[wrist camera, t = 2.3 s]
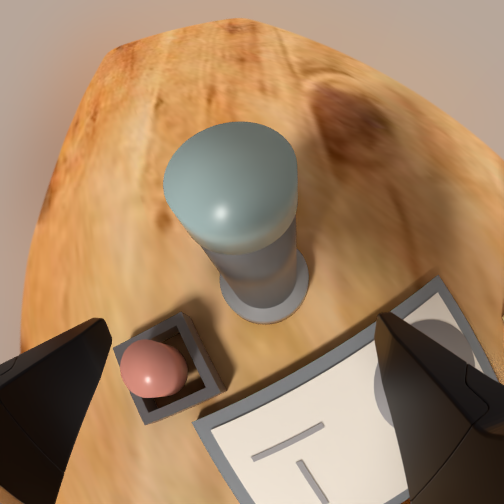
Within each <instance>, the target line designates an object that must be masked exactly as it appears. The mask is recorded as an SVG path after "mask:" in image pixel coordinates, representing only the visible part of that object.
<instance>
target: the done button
mask: <svg viewBox="0 0 504 504" xmlns="http://www.w3.org/2000/svg"><path fill="white" fill-rule="evenodd" d="M120 371H121V376H122V379H123V381H124V383H125V385H126V386H127V388H128V389H129V390H130V391H131V392H132V393H134V394H135V395H137V396H140V397H143V398H154V397H164V396H170V395H173V394H175V393H177V392H179V391H180V390H181V389H182V388H183V386H184V385H185V383H186V380H187V376H188V367H187V363H186V360H185V358H184V356H183V355H182V354H181V353H180V351H178V350H177V349H176V348H174V347H172V346H170V345H166V344H163V343H159V342H156V341H152V340H147V339H143V340H138V341H136V342H134V343H132V344H131V345H130V346H128V348H127V349H126V350H125V352H124V353H123V356H122V359H121V364H120Z"/></svg>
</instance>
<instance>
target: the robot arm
mask: <svg viewBox="0 0 504 504" xmlns="http://www.w3.org/2000/svg"><path fill="white" fill-rule="evenodd" d="M374 341H375V347H376V352H377V358H378V363H379V369H380V375H381V381H382V385H383V389H384V392H385V396H386V399H387V403H388V407H389V410H390V414H391V418H392V422H393V425H394V429H395V433H396V437H397V441H398V445H399V450H400V454H401V458H402V463H403V467H404V472H405V476H406V481H407V486H408V491H409V497H410V501H411V504H504V385H502V384H501V383H499V382H497V381H495V380H494V379H492V378H490V377H489V376H487V375H486V374H484V373H482V372H481V371H479V370H478V369H476V368H475V367H473V366H472V365H470V364H469V363H468V364H467V362H466V361H464V360H463V359H461V358H460V357H459V356H457V355H456V354H454V353H453V352H451V351H450V350H448V349H447V348H445V347H444V346H442V345H441V344H439V343H438V342H436V341H435V340H433V339H432V338H430V337H429V336H427V335H426V334H424V333H423V332H421V331H419V330H418V329H416V328H415V327H413V326H412V325H410V324H409V323H407V322H406V321H404V320H403V319H401V318H400V317H398V316H397V315H395V314H393V313H392V312H384V313H379V314H378V316H377V321H376V328H375V334H374ZM111 344H112V337H111V334H110V332H109V329H108V327H107V324H106V322H105V320H104V319H102V318H92V319H90V320H88V321H86V322H84V323H82V324H80V325H78V326H76V327H74V328H72V329H70V330H68V331H66V332H64V333H62V334H60V335H58V336H56V337H54V338H52V339H50V340H48V341H46V342H44V343H42V344H40V345H38V346H36V347H34V348H32V349H30V350H28V351H26V352H24V353H22V354H20V355H19V356H17V357H14V358H13V359H10V360H8V361H6V362H5V363H3V364H1V365H0V504H55V503H56V499H57V496H58V492H59V489H60V486H61V483H62V480H63V476H64V472H65V470H66V467H67V464H68V461H69V458H70V455H71V452H72V449H73V447H74V444H75V441H76V438H77V436H78V433H79V430H80V428H81V425H82V422H83V420H84V417H85V415H86V412H87V410H88V407H89V405H90V402H91V400H92V397H93V395H94V392H95V390H96V388H97V385H98V383H99V380H100V378H101V375H102V372H103V369H104V366H105V363H106V359H107V356H108V353H109V350H110V347H111Z"/></svg>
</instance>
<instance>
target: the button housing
mask: <svg viewBox="0 0 504 504" xmlns="http://www.w3.org/2000/svg"><path fill="white" fill-rule="evenodd" d="M178 333H180V334H181V337H182V339H183V341H184V343H185V345H186V347H187V350H188V352H189V354H190V356H191V358H192V360H193V362H194V364H195V366H196V368H197V370H198V372H199V374H200V376H201V378H202V380H203V382H204V384H205V386H206V388H204V389H202V390H200V391H197V392H195V393H193V394H191V395H189V396H187V397H184V398H182V399H180V400H178V401H175V402H173V403H171V404H168V405H166V406H164V407H161V408H159V409H158V407H157V404H156V402H155V400H154V398H143V397H140V396H137V395H135V394H134V393H132V392H131V391H130V390H129V391H130V394H131V396H132V398H133V400H134V403H135V405H136V407H137V409H138V412H139V414H140V416H141V418H142V420H143V422H144V424H145V425H148V424H151V423H155V422H158V421H160V420H163V419H165V418H168V417H170V416H173V415H175V414H177V413H180V412H182V411H184V410H187V409H189V408H191V407H194V406H196V405H198V404H200V403H203V402H205V401H207V400H209V399H211V398H213V397H216V396H218V395H220V394H222V393H224V392H226V391H227V390H226V388H225V387H224V385H223V383H222V381H221V379H220V377H219V375H218V373H217V371H216V369H215V367H214V365H213V363H212V361H211V359H210V358H209V356H208V354H207V351H206V349H205V347H204V345H203V343H202V341H201V339H200V337H199V335H198V333H197V331H196V329H195V327H194V325H193V322H192V320H191V318H190V317H189V316H188V315H186V314H184V313H183V312H180V313H178V314H176V315H174V316H172V317H170V318H169V319H167V320H165V321H163V322H161V323H159V324H157V325H155V326H154V327H152V328H150V329H148V330H146V331H144V332H142V333H140V334H138V335H137V336H135V337H133V338H131V339H129V340H127V341H125V342H123V343H121V344H120V345H118V346H116V347H114V348H113V350H114V353H115V356H116V358H117V361H118V364H119V366H120V364H121V359H122V356H123V353H124V352H125V350H126V349H127V348H128V346H130V345H131V344H132V343H134V342H136V341H138V340H143V339H147V340H152V341H156V342H159V343H161V342H163V341H164V340H166V339H168V338H170V337H172V336H174V335H176V334H178Z"/></svg>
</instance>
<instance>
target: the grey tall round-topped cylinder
mask: <svg viewBox="0 0 504 504" xmlns="http://www.w3.org/2000/svg"><path fill="white" fill-rule="evenodd" d="M163 189H164V195H165V198H166V201H167V203H168V205H169V206H170V208H171V209H172V211H173V212H174V214H175V215H176V217H177V218H178V219H179V221H180V222H181V224H182V225H183V226H184V228H185V229H186V230H187V232H188V233H189V235H190V236H191V237H192V238H193V239H194V240H195V241H196V242H197V243H198V244H199V245H200V246H201V247H202V249H203V250H204V251H205V253H206V254H207V256H208V257H209V258H210V260H211V261H212V262H213V264H214V265H215V267H216V268H217V269H218V271H219V272H220V288H221V291H222V294H223V297H224V299H225V300H226V302H227V303H228V305H229V306H230V307H231V308H232V309H233V310H234V311H235V312H236V313H237V314H238V315H239V316H240V317H242V318H243V319H245V320H247V321H249V322H252V323H256V324H274V323H278V322H281V321H283V320H285V319H287V318H289V317H290V316H292V315H293V314H294V313H295V312H296V311H297V310H298V309H299V308H300V306H301V305H302V303H303V301H304V299H305V296H306V293H307V288H308V279H309V274H308V268H307V264H306V261H305V259H304V257H303V256H302V254H301V253H300V251H299V250H298V249H297V248H296V211H297V205H298V177H297V160H296V156H295V153H294V150H293V149H292V147H291V145H290V144H289V142H288V141H287V140H286V139H285V138H284V137H283V136H282V135H281V134H279V133H278V132H276V131H275V130H273V129H271V128H269V127H266V126H264V125H261V124H257V123H251V122H229V123H223V124H219V125H216V126H213V127H210V128H207V129H205V130H203V131H201V132H199V133H197V134H195V135H194V136H193V137H191V138H190V139H188V140H187V141H186V142H185V143H184V144H182V146H181V147H180V148H179V149H178V150H177V151H176V152H175V154H174V155H173V156H172V158H171V160H170V161H169V163H168V166H167V168H166V171H165V174H164V180H163Z"/></svg>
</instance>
